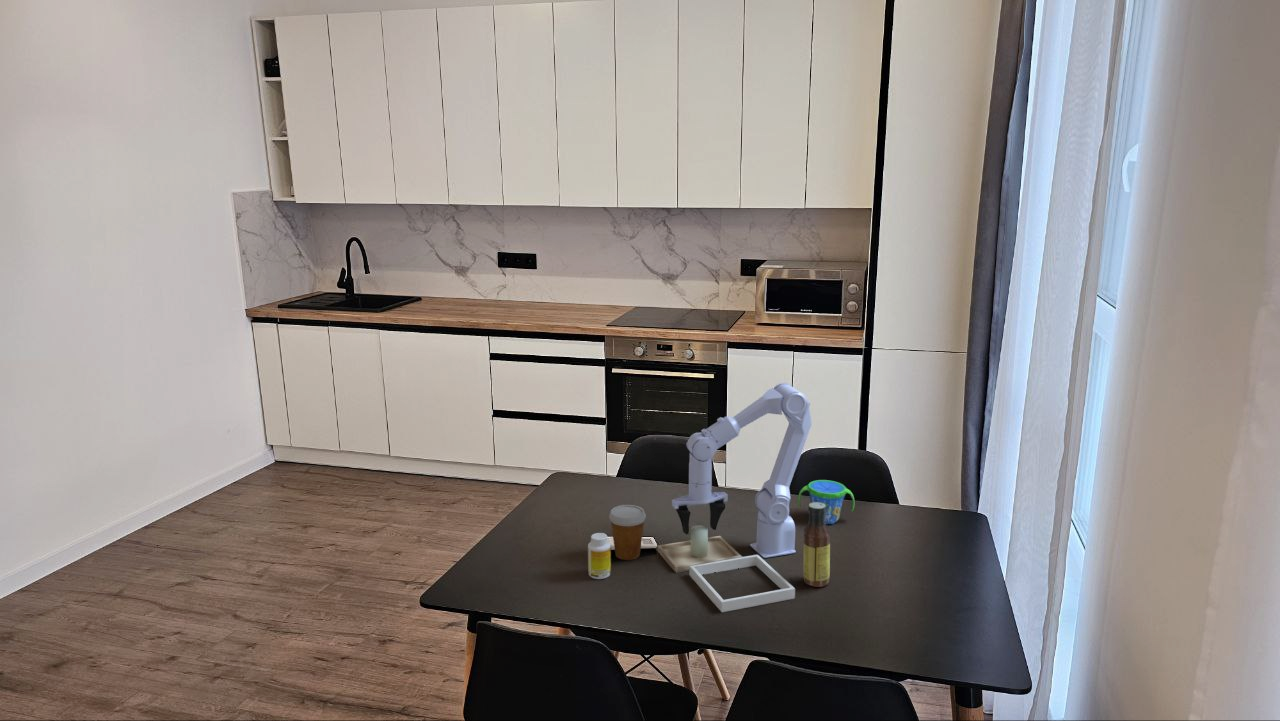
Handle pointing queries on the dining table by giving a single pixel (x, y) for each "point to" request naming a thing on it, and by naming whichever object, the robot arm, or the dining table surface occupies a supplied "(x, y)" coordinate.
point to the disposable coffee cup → (627, 530)
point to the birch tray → (682, 559)
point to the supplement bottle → (599, 556)
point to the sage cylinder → (699, 541)
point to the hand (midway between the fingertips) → (699, 530)
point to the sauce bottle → (816, 547)
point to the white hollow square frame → (746, 601)
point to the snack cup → (828, 497)
